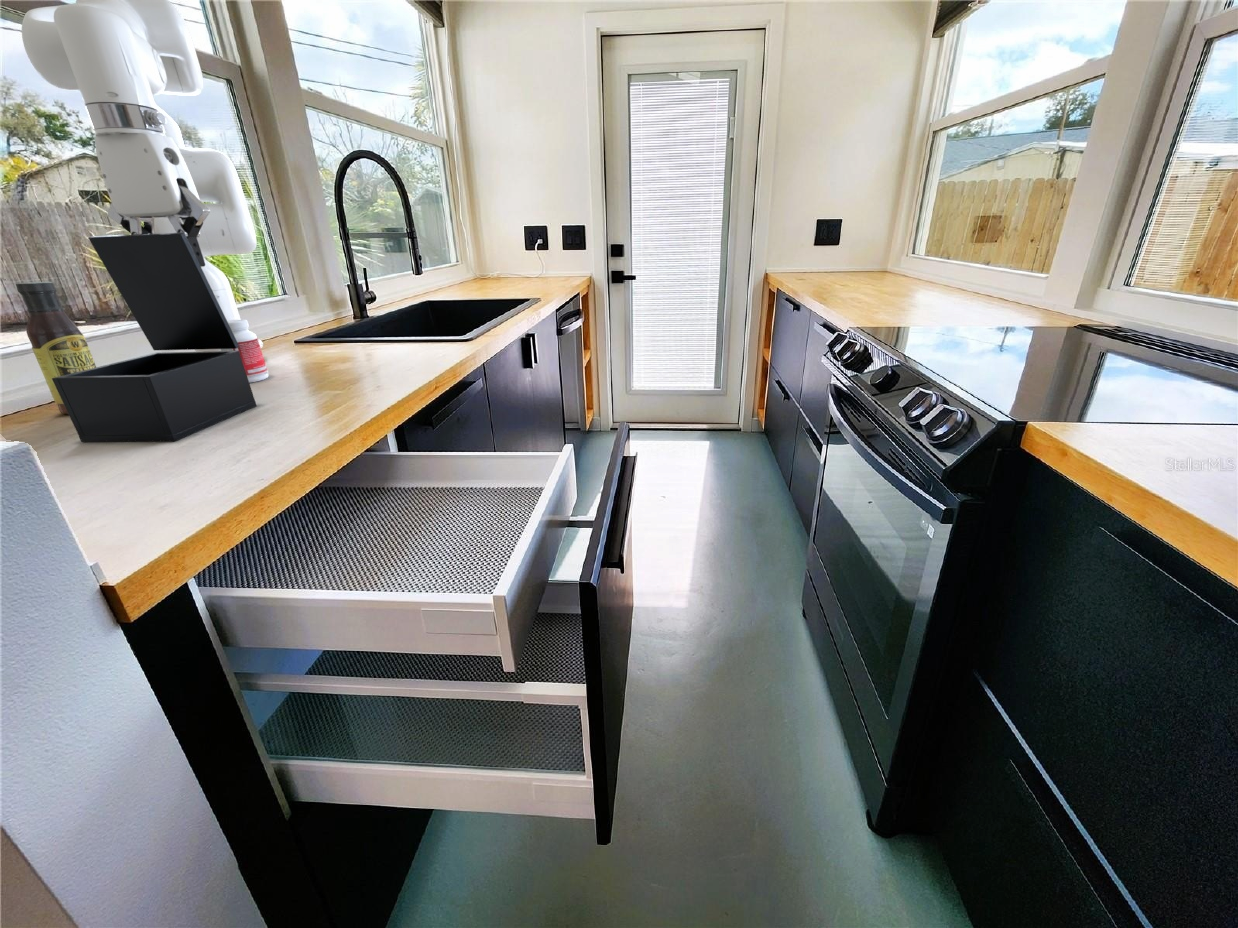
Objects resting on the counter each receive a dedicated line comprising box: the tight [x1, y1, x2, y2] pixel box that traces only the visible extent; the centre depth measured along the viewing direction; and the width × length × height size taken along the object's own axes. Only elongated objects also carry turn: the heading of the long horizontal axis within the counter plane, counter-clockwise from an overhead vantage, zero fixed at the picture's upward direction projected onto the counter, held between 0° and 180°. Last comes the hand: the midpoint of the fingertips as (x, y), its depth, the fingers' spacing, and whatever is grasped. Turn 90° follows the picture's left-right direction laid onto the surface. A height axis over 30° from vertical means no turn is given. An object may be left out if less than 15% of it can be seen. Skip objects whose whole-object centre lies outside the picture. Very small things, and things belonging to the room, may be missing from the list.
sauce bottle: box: [15, 281, 97, 415], centre depth 84 cm, size 6×6×20 cm
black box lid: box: [87, 233, 239, 351], centre depth 80 cm, size 17×14×5 cm
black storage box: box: [52, 351, 257, 443], centre depth 78 cm, size 16×14×9 cm
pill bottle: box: [221, 318, 270, 384], centre depth 101 cm, size 6×6×11 cm
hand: (177, 266), depth 80 cm, fingers closed on black box lid, 5 cm apart
